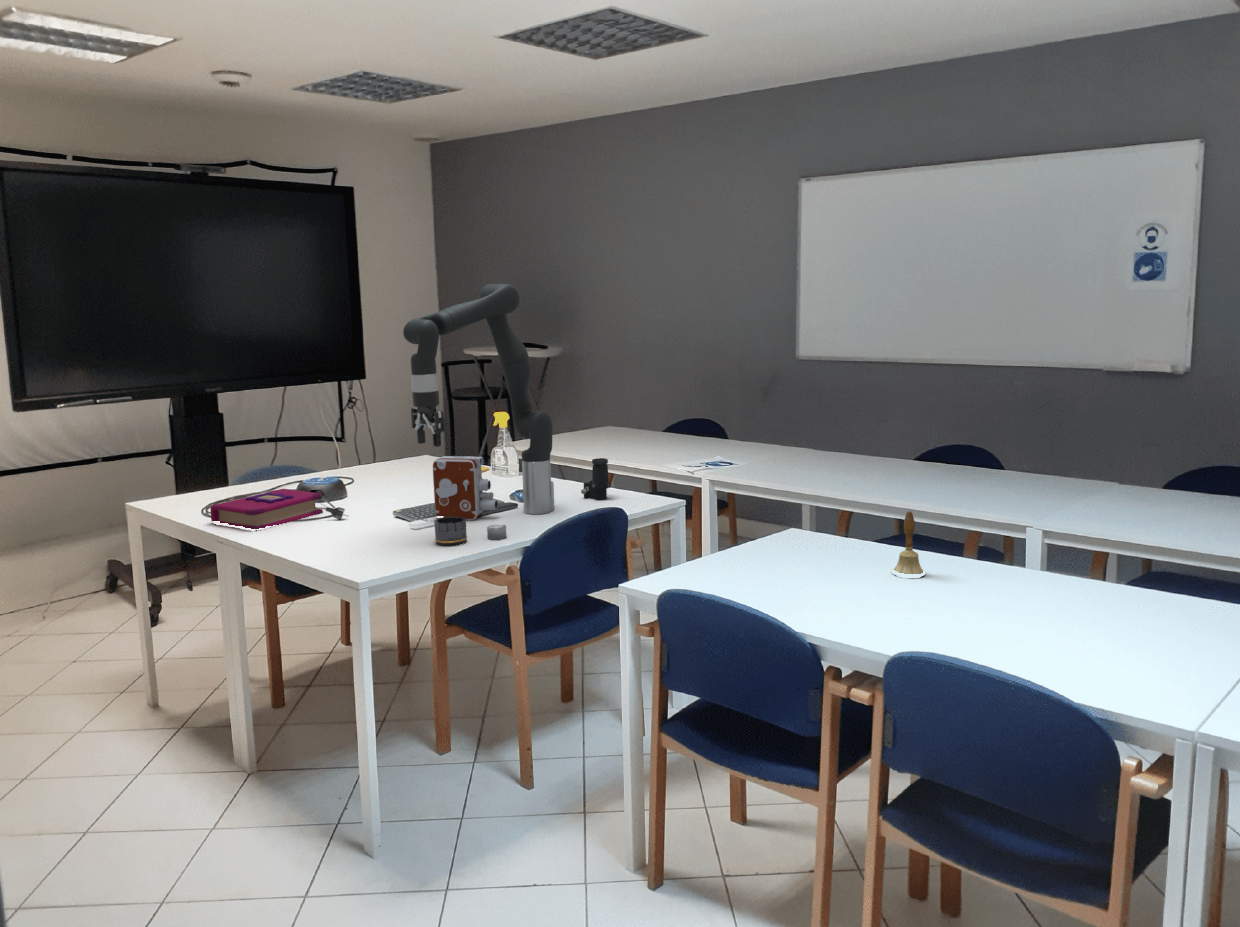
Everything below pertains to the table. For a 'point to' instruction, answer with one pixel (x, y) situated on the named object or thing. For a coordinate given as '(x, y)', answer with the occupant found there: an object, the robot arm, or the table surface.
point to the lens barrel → (450, 531)
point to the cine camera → (461, 487)
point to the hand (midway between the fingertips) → (429, 444)
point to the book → (267, 508)
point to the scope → (597, 481)
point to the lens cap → (496, 532)
